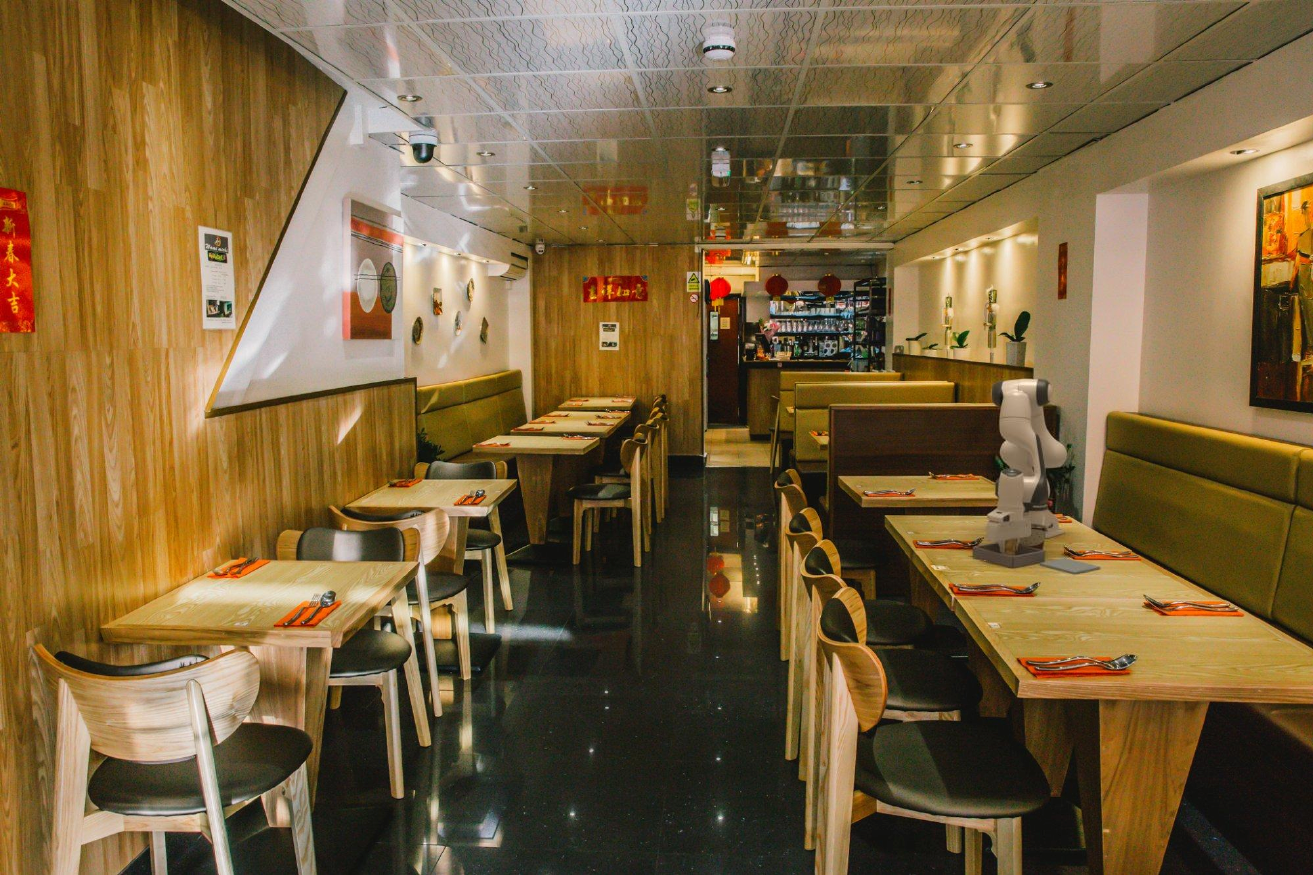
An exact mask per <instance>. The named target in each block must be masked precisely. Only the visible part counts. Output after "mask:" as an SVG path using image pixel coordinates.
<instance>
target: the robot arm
mask: <svg viewBox="0 0 1313 875" xmlns="http://www.w3.org/2000/svg"><path fill="white" fill-rule="evenodd" d="M991 387H992V388H991V391H990V398H991V400H992V404H994V405H995V406H996V407H998V408H1000V412H999V420H998V422H999V433H1000V435H1001V437H1002V438H1003V439H1004V440H1005V441H1004V442H1003V443H1002V444H1001V446H1000V449H999V456H1000V457H1001V460H1002V462H1004V463H1005V464H1006V465H1007V466H1009V468H1007V469H1003V470H1001V471H1000V476H999V477H998V478H997V479H996V480H995V482H994V483H995V488H994V490H995V491H994V495H995V496H996V497H997V499H998V500H997V501H998V502H997V507H996V508H994V510H992V511H991V512H989V513H987V514H986V520H988V521H987V524H986V531H985V532H986V533H985V534H986V535H985V536H986V539H987V541H988V542H990V543H997V542H998V545H999V547H1000V552H1002V553H1004V552H1006V550H1007V548H1005V546H1004V544H1005V541H1007V540H1011V539H1016V541H1015V551H1016V550H1017V546H1018V544H1019V542H1020V538H1024V537H1029V536H1030V535H1031V523H1033V524H1040V525H1044V526H1046V528H1047V531H1048V532H1046V534H1045V539H1050V538H1054V537H1057V536H1059V535H1063V534H1065V533H1066V532H1065V531H1066V530H1064V529H1062V528H1059V527H1060V521H1059V518H1058V517H1057V516H1056V515H1055V514H1053V513H1052V512H1051V510H1049V506H1050V507H1051V506H1053V501H1051V500H1049V498H1050V493H1051V488H1050V483H1049V480H1048V478H1047V477H1048V476H1047V470H1046V469H1052V468H1053V469H1054V468H1061V467H1062V466H1063V465H1064V464H1065V463H1066V461H1067V458H1068V451H1067V449H1066V447H1065V445H1064V444H1062V443H1061V442H1059V441H1058V440H1057V439H1055V438H1054V437H1053V436H1052V435H1051V433H1050V431H1049V429H1047V426H1046V421H1045V415H1044V406H1048V404H1050V403H1051V401H1052V398H1053V388H1052V385H1051V382H1050V381H1048V380H1047V379H1041V378H1038V379H1036V378H1035V379H1034V378H1033V379H1032V378H1021V379H1020V378H1019V379H1011V380H1009V379H1008V380H999V381H996V382H995V383H993V384H992V386H991ZM1002 553H1001V554H1002Z"/></svg>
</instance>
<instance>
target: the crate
mask: <svg viewBox="0 0 1313 875" xmlns="http://www.w3.org/2000/svg"><path fill="white" fill-rule="evenodd" d="M972 557H975V558H977V559H976V560H979V559H981V560H980V561H983V560H986V561H988V563H990V562H992V563H991V564H994V565H997V564H998V566H1002V567H1005V568H1008V569H1016V568H1021V567H1026V566H1031V565H1037V564H1038V565H1039V564H1040V563H1043V562H1046V561H1045V559H1046V551H1045V549H1043V550H1040V549H1036V548H1031V547H1027V546H1023V545H1019V544H1018V546H1017V550H1016V551H1015V556H1008V555H1004V554H1002V552H1000V547H999V545H998V542H996V543H994V542H990V543H986V544H979V545H974V546H973V547H972ZM975 558H974V559H975ZM986 561H985V562H986Z"/></svg>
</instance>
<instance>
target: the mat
mask: <svg viewBox="0 0 1313 875" xmlns="http://www.w3.org/2000/svg"><path fill="white" fill-rule="evenodd" d="M1039 566H1041V567H1044V568H1047V569H1052V570H1056V571H1060V572H1064V573H1068V574H1071V575H1079V574H1083V573H1088V572H1093V571H1097V570H1101V566H1099V565H1095V564H1089V563H1086V562H1082V561H1078V560H1074V559H1070V558H1066V557H1065V558H1060V559H1054V560H1048V561H1045V562H1043V563H1039Z"/></svg>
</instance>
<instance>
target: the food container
mask: <svg viewBox="0 0 1313 875" xmlns="http://www.w3.org/2000/svg"><path fill="white" fill-rule="evenodd" d="M1046 532H1048V531H1047V528H1046V526H1044V525H1040V524H1033V523H1031V535H1030V536H1029V537H1024V538H1020V542H1019V545H1023V546H1027V547H1031V548H1036V549H1040V550H1044V547H1045V546H1044V545H1045V540H1046V538H1045V534H1046Z"/></svg>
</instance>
